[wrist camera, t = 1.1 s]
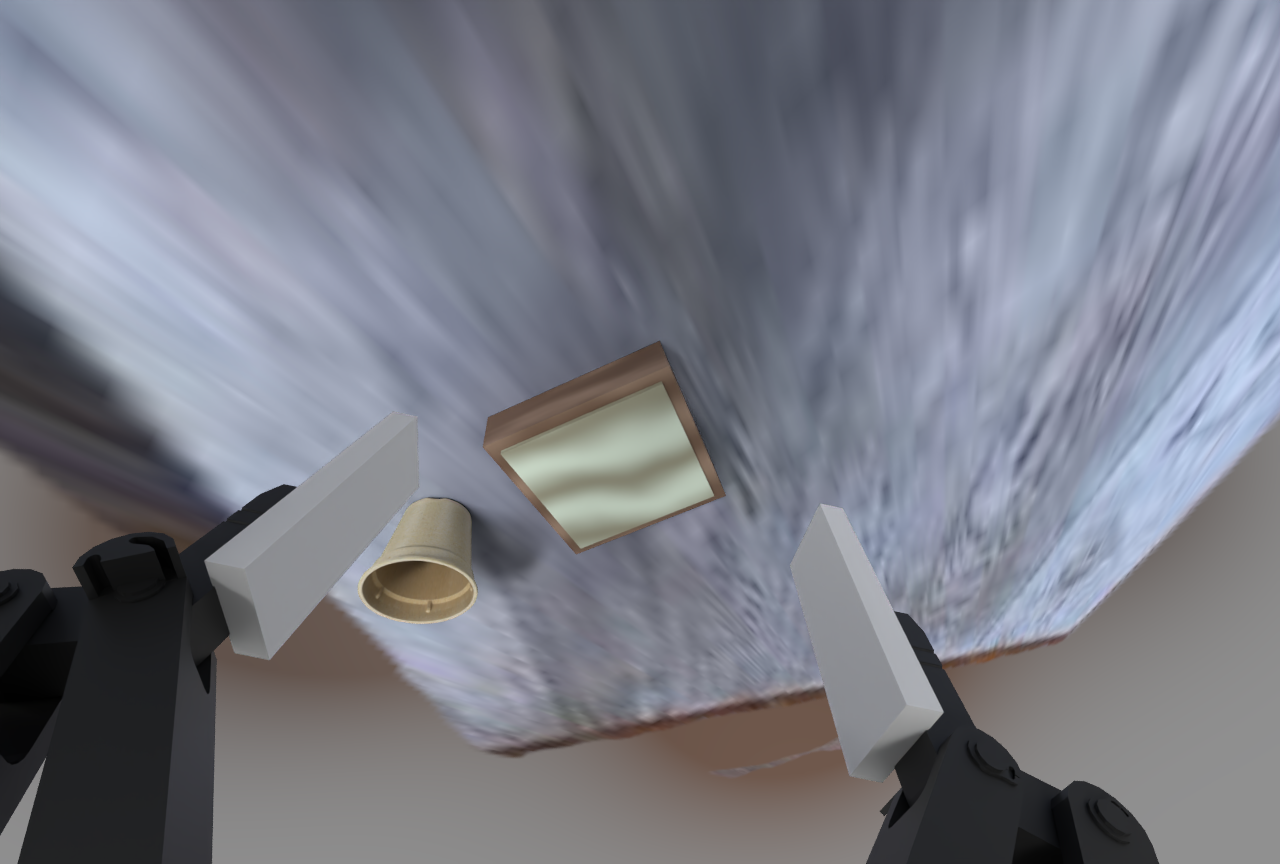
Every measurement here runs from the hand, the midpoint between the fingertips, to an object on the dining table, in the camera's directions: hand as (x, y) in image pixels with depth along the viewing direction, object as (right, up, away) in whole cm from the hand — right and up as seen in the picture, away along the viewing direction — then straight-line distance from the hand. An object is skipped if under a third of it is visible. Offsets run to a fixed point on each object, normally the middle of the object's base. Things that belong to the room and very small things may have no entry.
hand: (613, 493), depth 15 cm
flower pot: (-19, -6, +31) cm, 37 cm away
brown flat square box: (-2, +1, +29) cm, 29 cm away
